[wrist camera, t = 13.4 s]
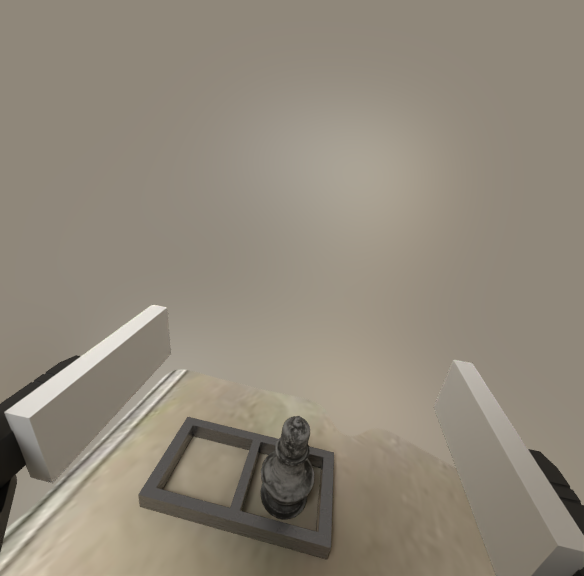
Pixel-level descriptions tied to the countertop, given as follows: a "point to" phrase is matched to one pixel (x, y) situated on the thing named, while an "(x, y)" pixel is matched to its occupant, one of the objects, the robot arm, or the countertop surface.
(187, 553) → the countertop surface
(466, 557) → the countertop surface
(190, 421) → the grey flat rectangular frame
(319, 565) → the countertop surface
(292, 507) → the dark grey chess piece
